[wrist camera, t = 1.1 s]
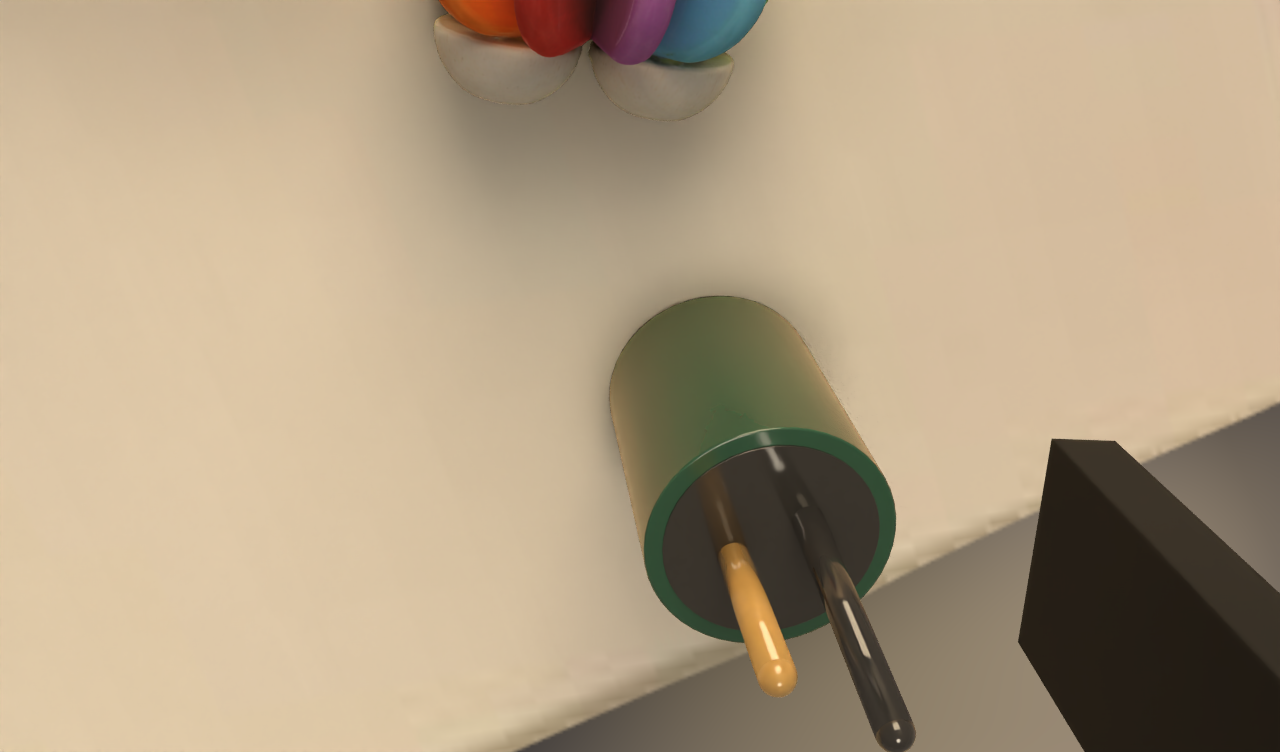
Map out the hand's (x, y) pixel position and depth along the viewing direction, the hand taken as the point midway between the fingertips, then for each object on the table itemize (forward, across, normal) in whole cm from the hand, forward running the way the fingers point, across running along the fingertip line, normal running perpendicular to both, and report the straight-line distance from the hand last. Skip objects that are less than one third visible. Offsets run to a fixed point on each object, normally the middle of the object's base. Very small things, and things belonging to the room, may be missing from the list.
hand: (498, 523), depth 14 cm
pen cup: (+25, +5, -7) cm, 27 cm away
